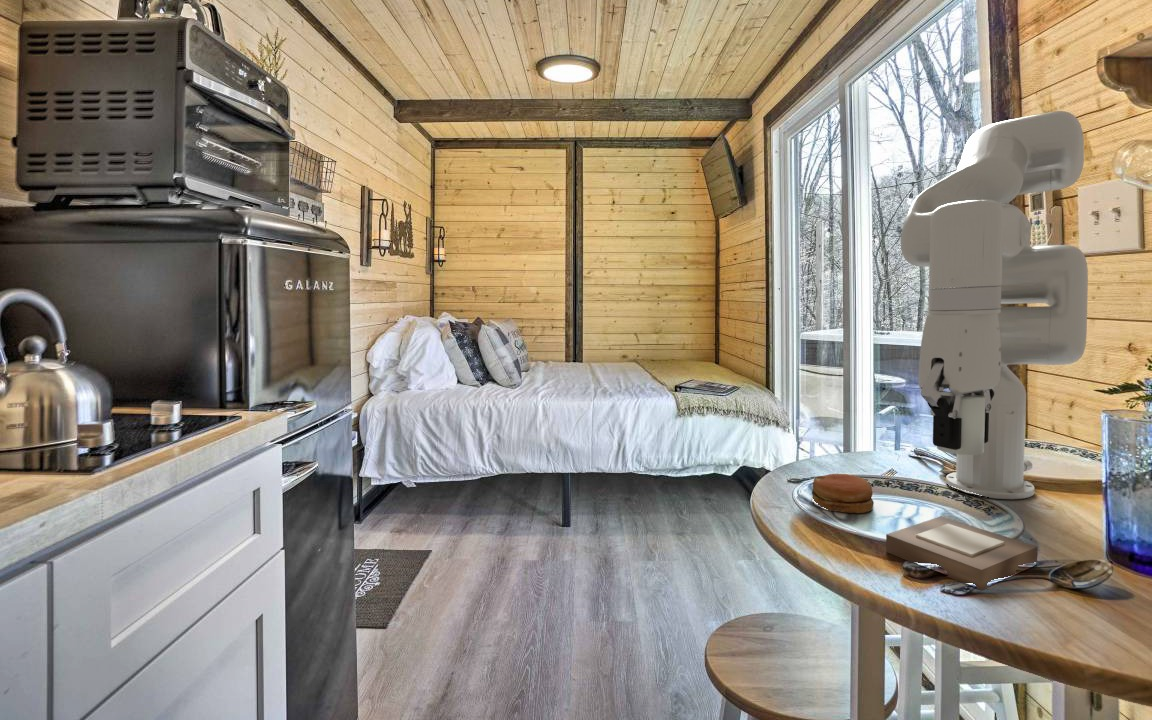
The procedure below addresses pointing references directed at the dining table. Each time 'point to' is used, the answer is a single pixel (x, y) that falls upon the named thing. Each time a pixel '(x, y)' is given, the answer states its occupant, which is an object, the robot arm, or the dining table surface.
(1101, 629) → the dining table surface
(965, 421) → the ceramic cylinder
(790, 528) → the dining table surface
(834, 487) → the burger
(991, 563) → the walnut base
